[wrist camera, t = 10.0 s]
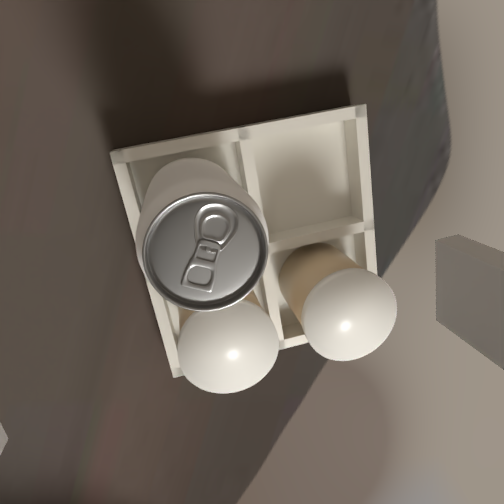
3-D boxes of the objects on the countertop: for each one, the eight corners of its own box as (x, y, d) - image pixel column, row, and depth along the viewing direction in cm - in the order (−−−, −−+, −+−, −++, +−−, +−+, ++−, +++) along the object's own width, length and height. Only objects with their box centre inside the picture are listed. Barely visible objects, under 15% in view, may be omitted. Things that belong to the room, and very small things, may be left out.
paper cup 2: (282, 320, 34) (311, 371, 27) (270, 249, 32) (299, 285, 25) (353, 302, 35) (398, 347, 28) (347, 232, 32) (394, 262, 26)
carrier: (173, 360, 33) (173, 377, 31) (113, 149, 27) (109, 152, 25) (367, 310, 36) (380, 323, 33) (351, 105, 30) (365, 104, 27)
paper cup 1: (185, 345, 33) (190, 404, 26) (166, 274, 30) (166, 318, 24) (261, 326, 34) (285, 378, 27) (248, 255, 31) (271, 292, 25)
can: (248, 172, 29) (297, 206, 18) (221, 254, 31) (251, 332, 20) (159, 143, 27) (153, 161, 16) (135, 232, 29) (115, 304, 18)
